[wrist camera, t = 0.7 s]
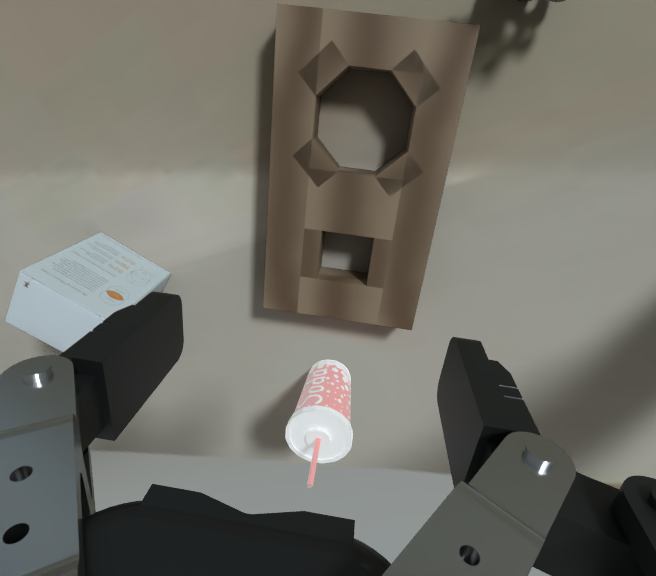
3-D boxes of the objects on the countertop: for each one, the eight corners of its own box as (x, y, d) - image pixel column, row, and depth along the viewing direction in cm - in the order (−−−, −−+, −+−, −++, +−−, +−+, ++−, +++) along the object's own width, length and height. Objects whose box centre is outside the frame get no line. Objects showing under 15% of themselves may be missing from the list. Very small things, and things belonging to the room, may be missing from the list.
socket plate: (471, 32, 30) (480, 25, 27) (409, 314, 40) (411, 330, 38) (285, 12, 31) (277, 3, 28) (270, 294, 41) (263, 307, 38)
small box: (85, 272, 43) (0, 321, 33) (101, 229, 40) (16, 268, 31) (153, 312, 44) (90, 370, 34) (173, 273, 41) (112, 323, 32)
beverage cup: (355, 352, 43) (345, 457, 30) (359, 399, 45) (352, 514, 33) (298, 354, 44) (265, 456, 31) (305, 399, 46) (277, 511, 33)
